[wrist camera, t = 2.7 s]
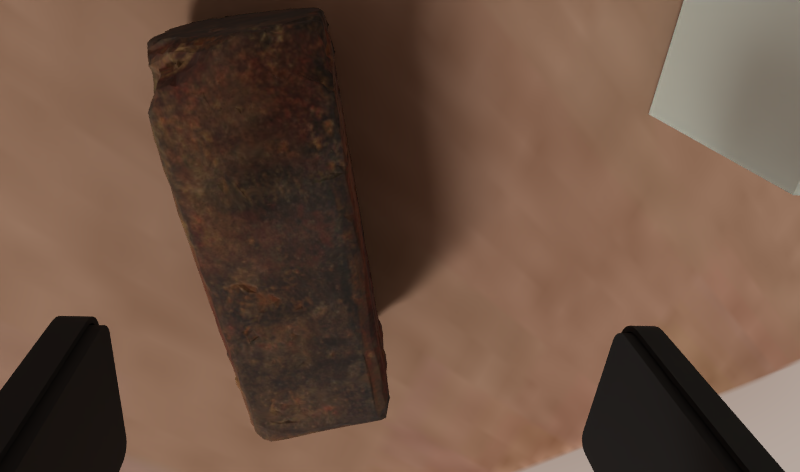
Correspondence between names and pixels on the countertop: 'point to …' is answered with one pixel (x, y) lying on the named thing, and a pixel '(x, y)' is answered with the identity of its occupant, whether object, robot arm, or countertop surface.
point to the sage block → (737, 84)
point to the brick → (273, 214)
